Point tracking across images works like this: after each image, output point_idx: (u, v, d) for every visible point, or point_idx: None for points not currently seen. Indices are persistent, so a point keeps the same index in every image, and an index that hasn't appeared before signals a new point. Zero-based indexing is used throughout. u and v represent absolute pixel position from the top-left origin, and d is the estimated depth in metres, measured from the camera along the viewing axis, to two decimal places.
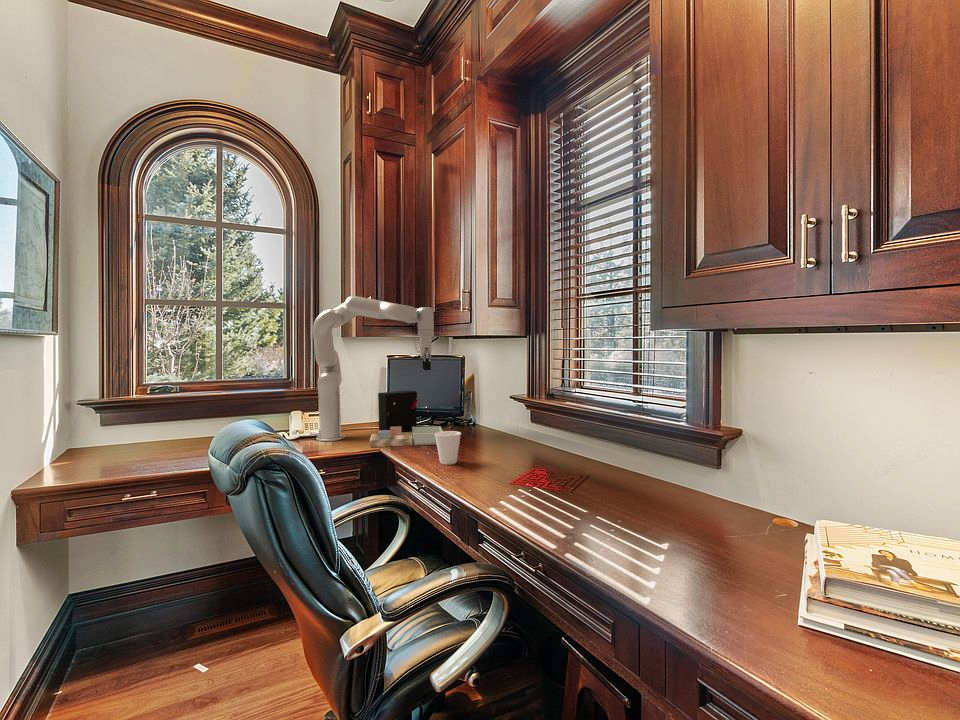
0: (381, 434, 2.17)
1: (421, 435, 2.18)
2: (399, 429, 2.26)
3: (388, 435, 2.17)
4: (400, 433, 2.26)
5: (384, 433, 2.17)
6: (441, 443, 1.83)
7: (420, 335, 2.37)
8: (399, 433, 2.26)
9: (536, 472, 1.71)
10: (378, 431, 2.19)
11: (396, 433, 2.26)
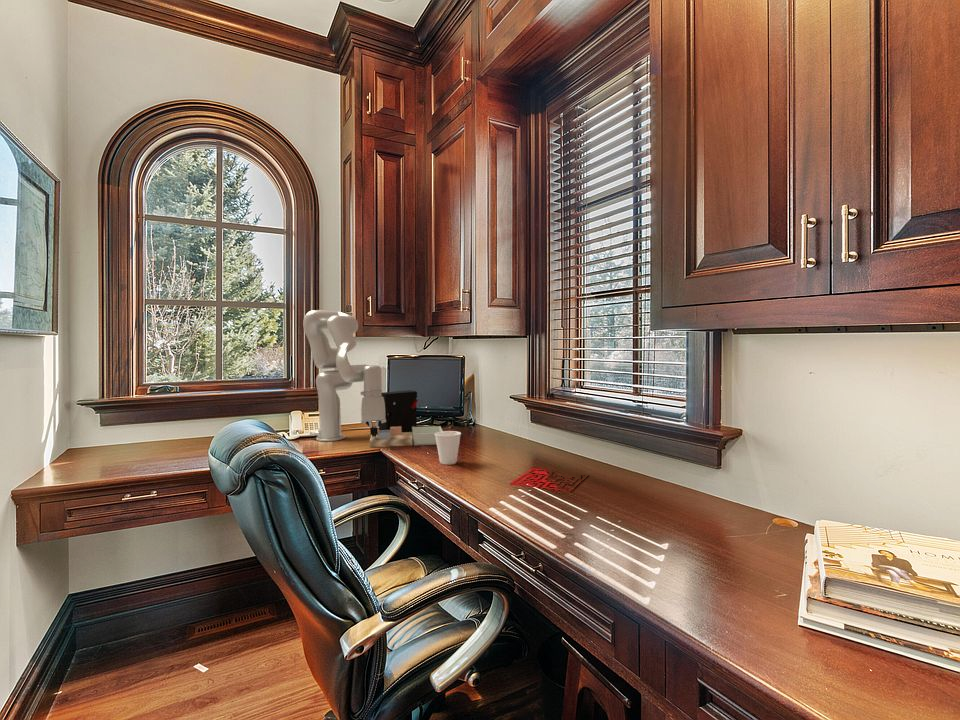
0: (381, 434, 2.17)
1: (421, 435, 2.18)
2: (399, 429, 2.26)
3: (388, 435, 2.17)
4: (400, 433, 2.26)
5: (384, 433, 2.17)
6: (441, 443, 1.83)
7: (378, 396, 2.16)
8: (399, 433, 2.26)
9: (536, 472, 1.71)
10: (378, 431, 2.19)
11: (396, 433, 2.26)
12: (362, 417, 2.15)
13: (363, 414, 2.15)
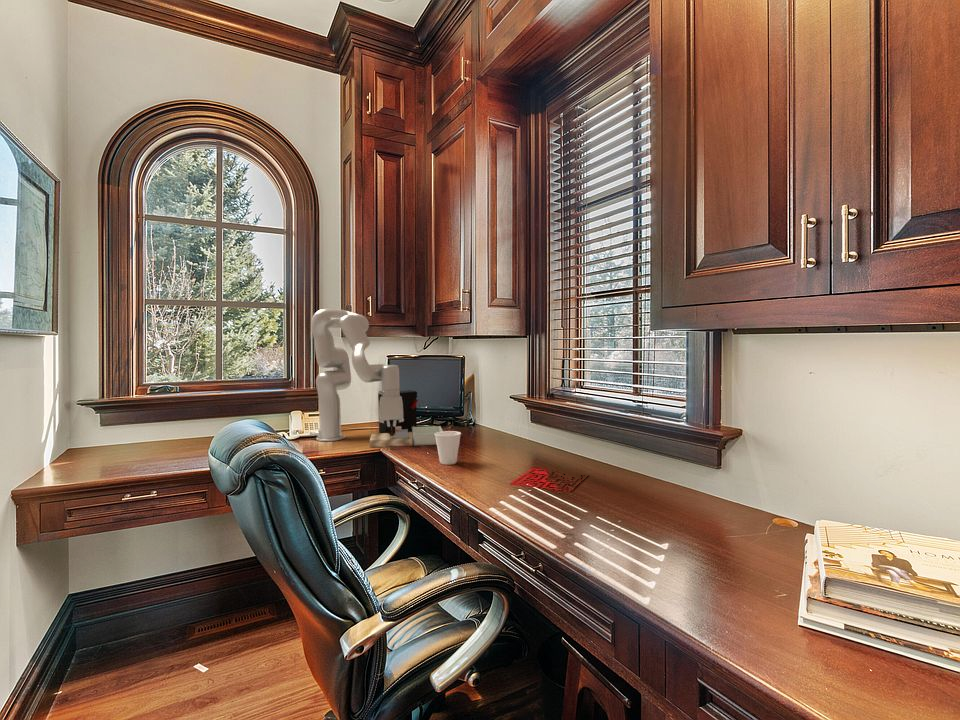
0: (399, 433, 2.18)
1: (421, 435, 2.18)
2: (399, 429, 2.26)
3: (406, 434, 2.18)
4: None
5: (402, 432, 2.18)
6: (441, 443, 1.83)
7: (396, 396, 2.17)
8: None
9: (536, 472, 1.71)
10: (396, 430, 2.20)
11: None
12: (380, 416, 2.16)
13: (381, 413, 2.16)
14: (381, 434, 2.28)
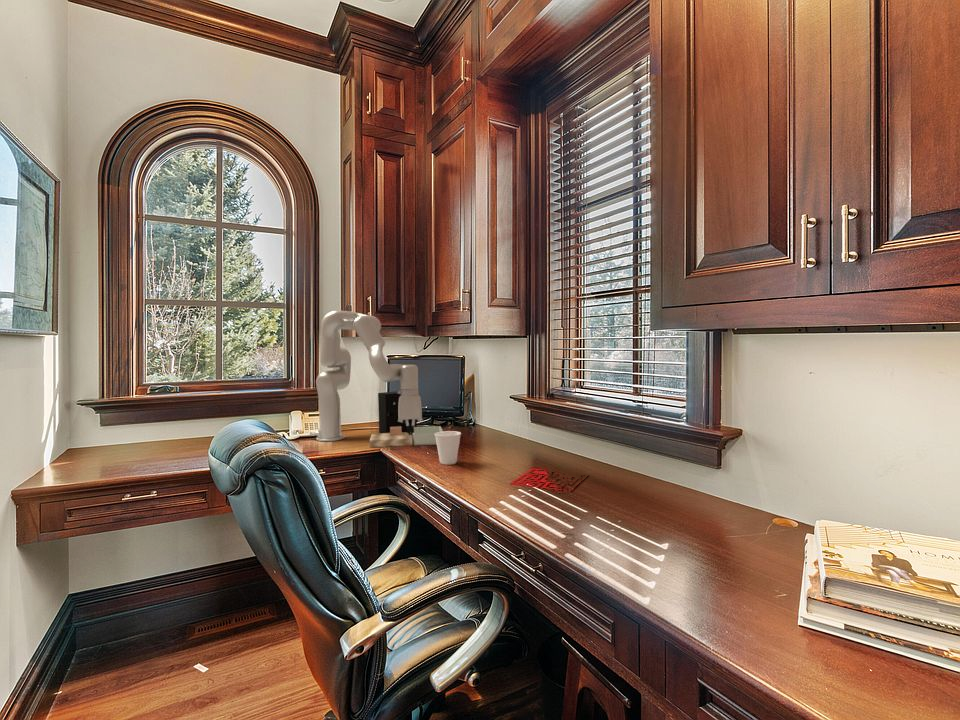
0: None
1: (421, 435, 2.18)
2: (399, 429, 2.26)
3: None
4: (400, 433, 2.26)
5: None
6: (441, 443, 1.83)
7: (415, 395, 2.18)
8: (399, 433, 2.26)
9: (536, 472, 1.71)
10: None
11: (396, 433, 2.26)
12: (399, 416, 2.18)
13: (400, 413, 2.18)
14: (381, 434, 2.28)
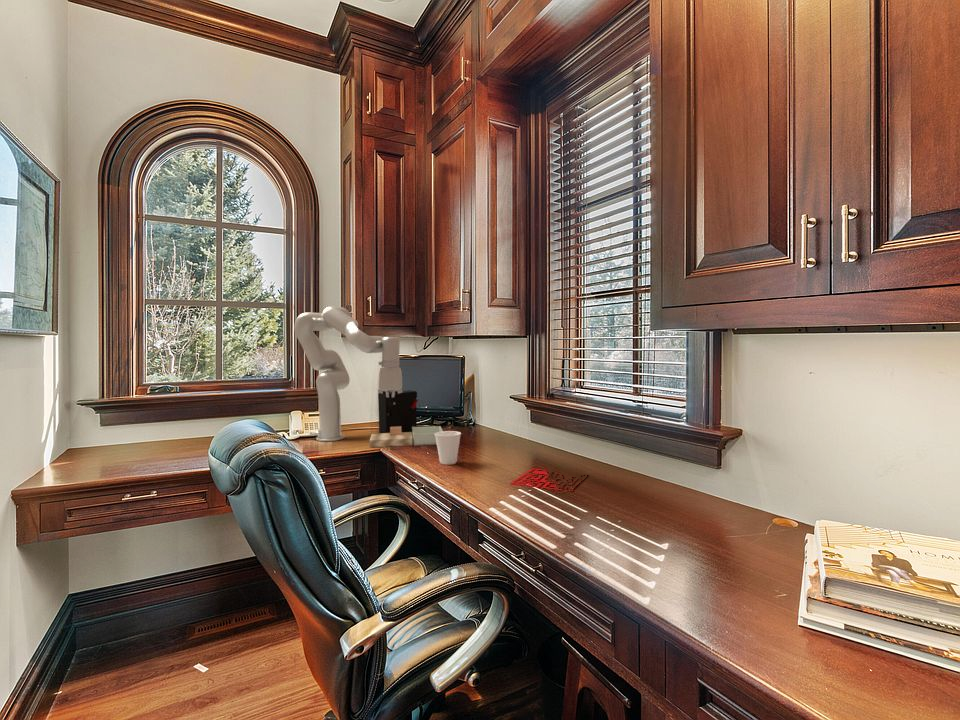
0: None
1: (421, 435, 2.18)
2: (399, 429, 2.26)
3: None
4: (400, 433, 2.26)
5: None
6: (441, 443, 1.83)
7: (396, 367, 2.21)
8: (399, 433, 2.26)
9: (536, 472, 1.71)
10: None
11: (396, 433, 2.26)
12: (379, 386, 2.21)
13: (380, 384, 2.20)
14: (381, 434, 2.28)
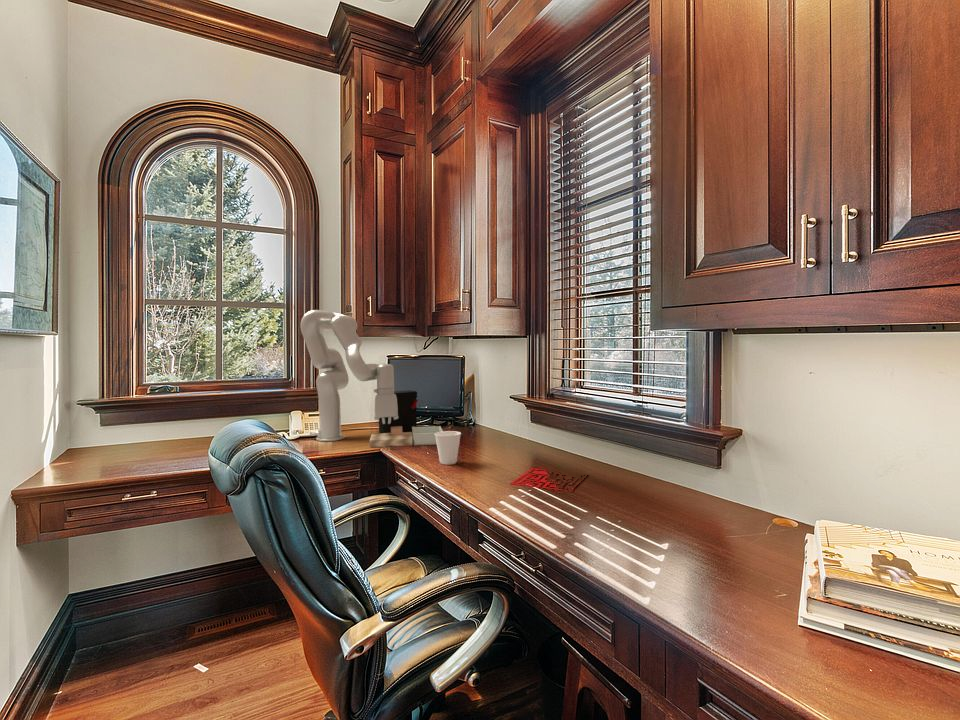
0: None
1: (421, 435, 2.18)
2: (400, 429, 2.26)
3: None
4: (401, 433, 2.26)
5: None
6: (441, 443, 1.83)
7: (391, 394, 2.25)
8: (400, 433, 2.26)
9: (535, 472, 1.71)
10: None
11: (397, 433, 2.26)
12: (375, 414, 2.24)
13: (376, 411, 2.24)
14: (381, 434, 2.28)
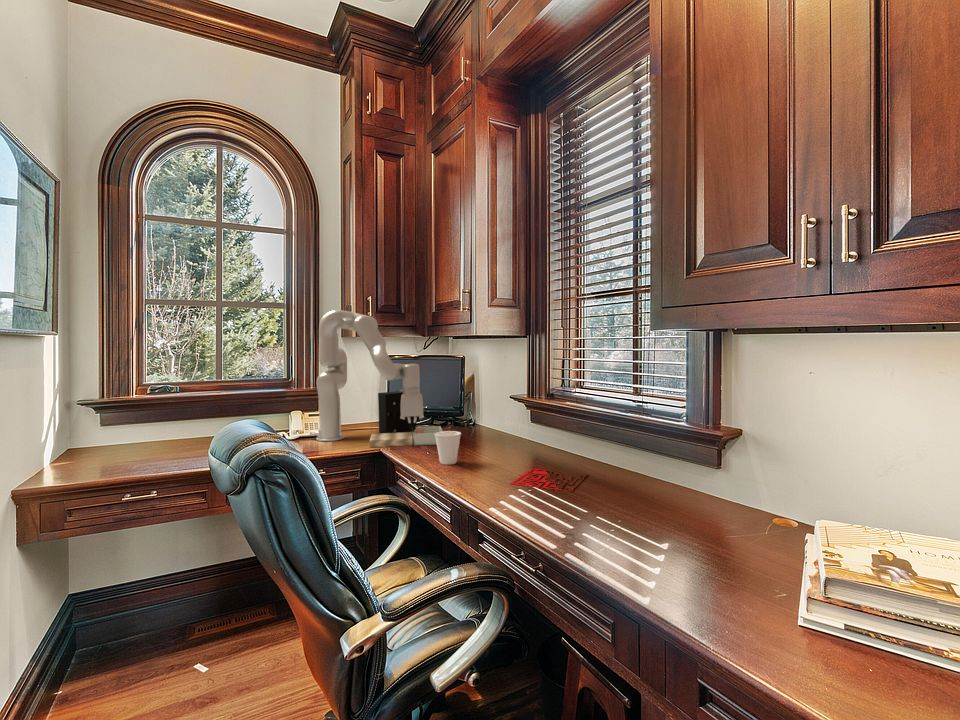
0: None
1: (421, 435, 2.18)
2: None
3: None
4: None
5: None
6: (441, 443, 1.83)
7: (417, 393, 2.26)
8: None
9: (535, 472, 1.71)
10: None
11: None
12: (401, 413, 2.26)
13: (402, 410, 2.26)
14: (381, 434, 2.28)
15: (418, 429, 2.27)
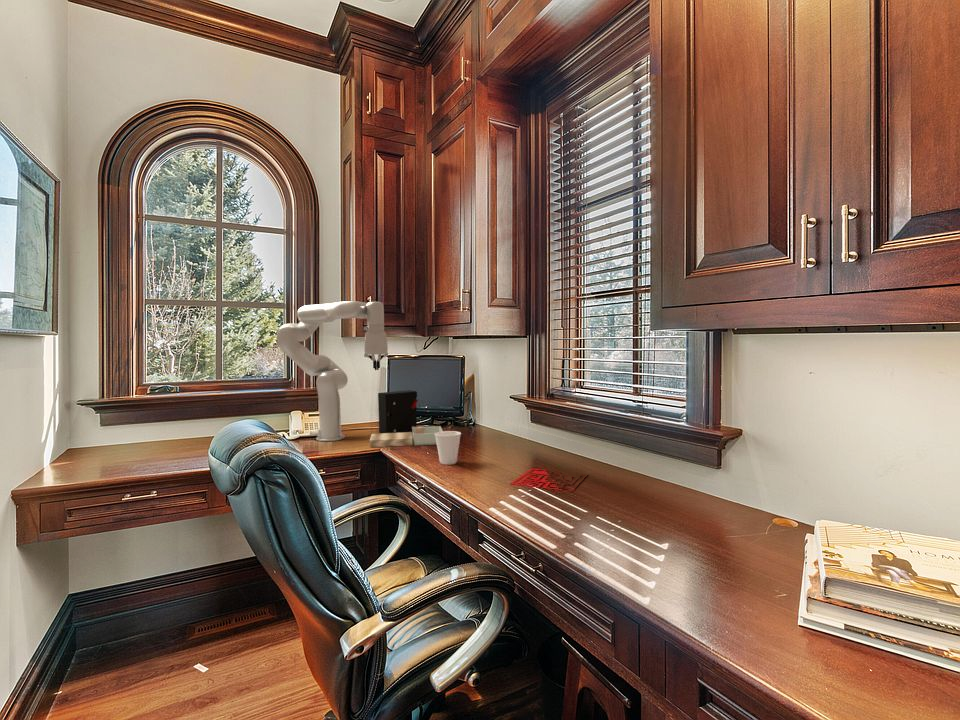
0: None
1: (421, 435, 2.18)
2: None
3: None
4: None
5: None
6: (441, 443, 1.83)
7: (381, 331, 2.26)
8: None
9: (535, 472, 1.71)
10: None
11: None
12: (365, 350, 2.26)
13: (366, 347, 2.25)
14: (381, 434, 2.28)
15: (418, 429, 2.27)
